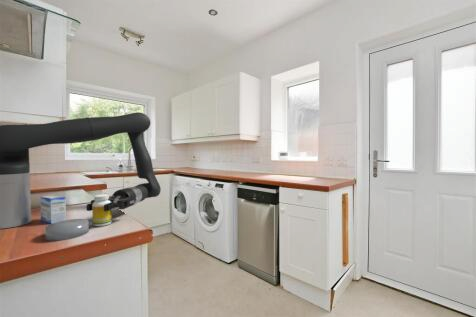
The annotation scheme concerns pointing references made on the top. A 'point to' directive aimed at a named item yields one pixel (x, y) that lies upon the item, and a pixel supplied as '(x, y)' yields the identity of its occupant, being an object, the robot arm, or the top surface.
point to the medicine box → (53, 209)
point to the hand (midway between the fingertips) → (96, 207)
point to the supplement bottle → (101, 211)
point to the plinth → (66, 229)
